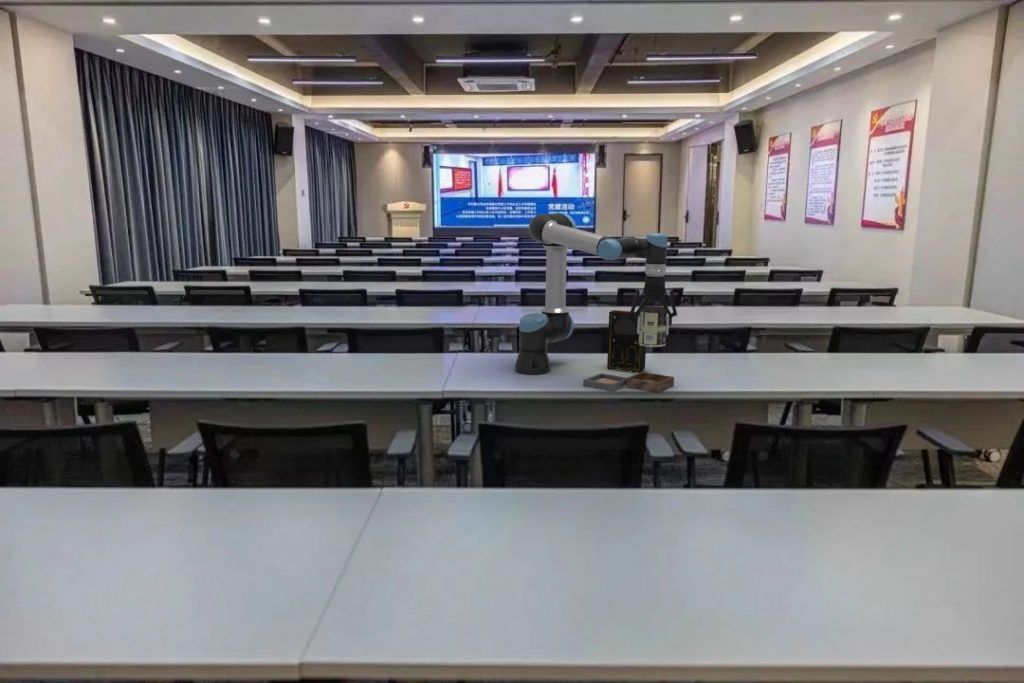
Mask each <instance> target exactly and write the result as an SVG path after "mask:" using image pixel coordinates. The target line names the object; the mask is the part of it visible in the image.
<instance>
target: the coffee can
mask: <svg viewBox="0 0 1024 683" xmlns="http://www.w3.org/2000/svg"><path fill="white" fill-rule="evenodd" d="M640 310H641V312H640V331H639V345H641V346H646V348H647V347H648V348H661V347H665V346H666V343H667V342H666V339H667V335H666V324H667V317H668V314H667V309H665V308H664V306H656V305H655V306H654V305H645V306H644V307H643V308H640Z"/></svg>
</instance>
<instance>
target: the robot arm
mask: <svg viewBox="0 0 1024 683" xmlns="http://www.w3.org/2000/svg"><path fill="white" fill-rule="evenodd" d="M528 233H529V235H530V237H531V239H532V240H534V241H535V242H538V243H542V247H543V248H544V249H545V252H546V254H545V255H546V257H545V259H546V261H545V262H546V263H545V304H544V305H545V306H544V307H543V308H542V309H541V312H540V313H537V312H536V313H528V314H525V315H523V316H522V317H520V320H519V326H518V329H519V330H518V331H519V334H518V335H519V339H518V340H519V342H518V343H519V346H518V348H519V352H518V355H517V357H516V362H515V364H514V371H515V370H516V371H517V372H516V371H515V372H516V373H519V372H520V373H519V374H523V373H524V375H543V374H548V373H550V372H551V371H552V364H551V362H550V358H549V355H548V344H550V343H556V342H562V341H564V340H566V339H568V338H569V337H570V336H571V335H572V333H573V332H574V328H575V323H574V319H573V318H572V315H571V314H570V311H569V309H568V308H567V306H566V304H567V302H566V299H567V298H566V297H567V296H566V295H567V261H568V260H567V259H568V258H567V256H568V254H567V253H568V250H569V249H574V250H577V251H581V252H585V253H588V254H592V255H596V256H599V257H600V258H601V259H602V260H605V261H615V260H616V261H617V260H621V259H622V260H623V259H633V258H634V259H645V268H644V270H645V272H644V273H645V276H644V287H643V288H641V289H640V288H636V289H635V297H634V299H633V302H632V305H631V308H630V310H629V311H630V314H631V315H634V316H635V322H634V323H635V325H637V334H639V331H640V316H638V315H639V314H640V312H641V310H640V308H643V307H644V306H646V304H647V303H648V301H654V300H655V301H660V302H661V304H662V307H664V308H665V309H667V324H666V336H668V335H669V329H670V328H669V326H670V327H671V326H673V318H674V317H676V316H678V311H677V307H676V304H675V300H674V299H675V298H674V290H673V289H666V276H665V275H666V273H667V252H668V251H667V250H668V236H667V234H666V233H659V232H658V233H656V232H651V233H650V232H649V233H647V234H646V237H631V236H629V237H628V236H627V237H625V236H624V237H621V238H613V237H609V236H606V235H602V234H598V233H595V232H589V231H585V230H582V229H578V228H577V224H576V221H575V220H574V218H572V216H570V215H569V214H566V213H558V212H557V213H539V214H537V215H535V216H534V217H533V218H532V219H531V220H530V222H529V225H528ZM643 293H644V296H645V297H644V298H643V300H642V302H641V304H640V305H639V306H638V309H636V307H637V304H638V301H639V298H640V296H641V295H642V294H643ZM665 294H666V295H667V296H668V298H669V301H670V307H671V310H672V312H671V311H670V309H669V307H668V304H667V303H666V301H665V299H664V296H665Z"/></svg>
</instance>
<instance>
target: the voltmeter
mask: <svg viewBox="0 0 1024 683" xmlns="http://www.w3.org/2000/svg"><path fill="white" fill-rule="evenodd" d="M630 311H631V310H618V309H613V310H611V311H609V312H608V333H607V334H608V335H607V336H608V337H607V364H606V368H607V370H611V369H618V370H617V371H619V369H620V370H625V371H624V372H627V371H632V372H631V373H635V372H638V373H640V372H644V370H645V369H646V354H647V347H646V346H641V345H639V334H637V325H635V323H634V322H635V316H634V315H631V314H630ZM638 316H640V314H639V315H638ZM638 373H637V374H638Z"/></svg>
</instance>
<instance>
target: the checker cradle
mask: <svg viewBox="0 0 1024 683" xmlns="http://www.w3.org/2000/svg"><path fill="white" fill-rule="evenodd" d="M626 378H627V377H625V376H624V377H623V376H619V375H614V374H607V373H603V372H600V373H596V374H595V375H593V376H590V377H587V378H585V379H583V384H582V386H583V387H587V388H592V387H593V389H597V388H599V389H598V390H602V389H604V390H603V391H607V390H608V391H607V392H613V393H614V392H616V391H618V390H620V389H622V388H624V387H623V386H625V385H626ZM621 387H622V388H621ZM625 387H626V386H625ZM619 388H620V389H619ZM617 389H618V390H617Z"/></svg>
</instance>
